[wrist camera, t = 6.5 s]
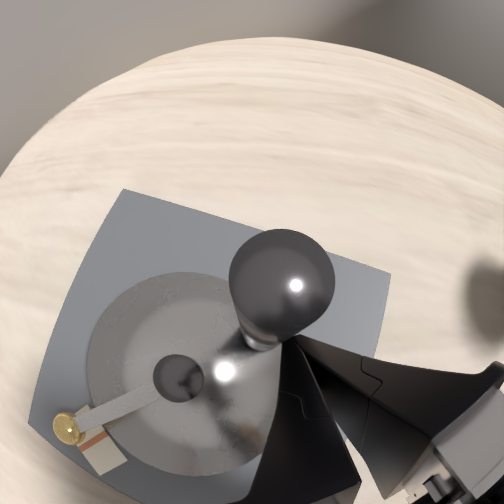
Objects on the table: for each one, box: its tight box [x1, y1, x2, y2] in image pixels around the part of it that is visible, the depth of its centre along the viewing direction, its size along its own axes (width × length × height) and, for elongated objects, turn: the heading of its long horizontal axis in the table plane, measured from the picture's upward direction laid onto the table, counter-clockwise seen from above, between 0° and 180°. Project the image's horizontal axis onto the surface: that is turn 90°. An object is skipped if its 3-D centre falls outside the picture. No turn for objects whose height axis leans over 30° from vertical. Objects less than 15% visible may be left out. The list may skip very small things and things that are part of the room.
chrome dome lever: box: [53, 229, 335, 476], centre depth 11 cm, size 15×16×12 cm
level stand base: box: [28, 189, 391, 504], centre depth 17 cm, size 24×24×1 cm
